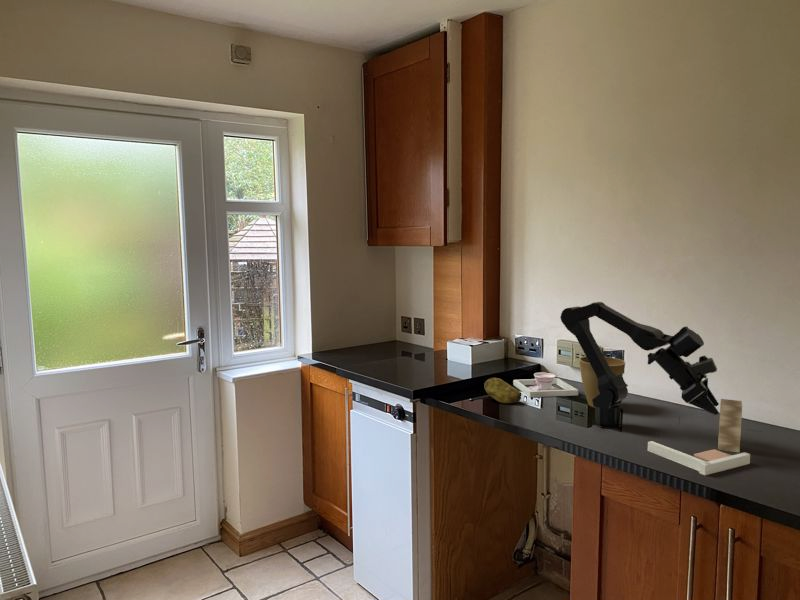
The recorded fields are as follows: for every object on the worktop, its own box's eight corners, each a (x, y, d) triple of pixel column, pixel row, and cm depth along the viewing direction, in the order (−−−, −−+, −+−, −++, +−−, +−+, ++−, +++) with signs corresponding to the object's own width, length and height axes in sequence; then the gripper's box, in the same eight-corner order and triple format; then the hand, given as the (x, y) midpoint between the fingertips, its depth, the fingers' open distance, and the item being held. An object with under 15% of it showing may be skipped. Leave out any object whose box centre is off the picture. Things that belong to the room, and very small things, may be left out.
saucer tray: (529, 397, 213) (530, 391, 213) (513, 384, 231) (513, 379, 231) (578, 395, 215) (578, 390, 215) (557, 383, 234) (558, 378, 233)
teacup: (567, 392, 221) (567, 375, 220) (544, 396, 214) (545, 380, 214) (543, 385, 231) (543, 370, 230) (520, 389, 224) (521, 373, 224)
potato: (508, 407, 200) (508, 384, 199) (480, 399, 210) (480, 377, 209) (523, 403, 205) (524, 380, 205) (495, 395, 215) (495, 374, 214)
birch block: (718, 449, 160) (720, 403, 159) (718, 444, 165) (720, 398, 163) (739, 452, 158) (742, 405, 157) (738, 446, 162) (741, 401, 161)
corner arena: (644, 451, 159) (645, 442, 159) (688, 441, 166) (688, 433, 166) (704, 475, 143) (705, 465, 143) (749, 463, 150) (750, 454, 150)
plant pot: (581, 411, 196) (582, 364, 194) (575, 399, 211) (576, 355, 209) (628, 413, 194) (630, 365, 192) (618, 400, 208) (620, 356, 207)
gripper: (697, 353, 154) (743, 399, 150) (699, 342, 171) (741, 384, 167) (663, 379, 159) (707, 425, 155) (668, 366, 175) (708, 407, 171)
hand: (717, 409), depth 162 cm, fingers open, 9 cm apart
